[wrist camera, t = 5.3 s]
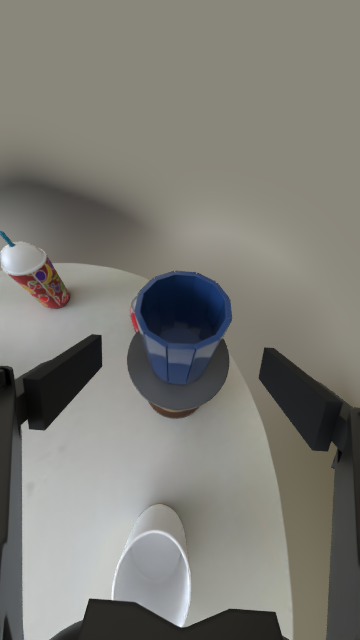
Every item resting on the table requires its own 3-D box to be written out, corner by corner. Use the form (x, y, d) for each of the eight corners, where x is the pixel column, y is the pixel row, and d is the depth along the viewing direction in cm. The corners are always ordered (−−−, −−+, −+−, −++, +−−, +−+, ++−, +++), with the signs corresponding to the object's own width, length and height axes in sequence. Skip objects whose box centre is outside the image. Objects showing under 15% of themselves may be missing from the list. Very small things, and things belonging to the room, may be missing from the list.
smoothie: (80, 300, 51) (35, 232, 34) (51, 318, 47) (-16, 253, 30) (64, 284, 54) (14, 213, 37) (35, 300, 50) (-35, 231, 33)
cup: (181, 498, 31) (185, 523, 22) (192, 621, 24) (204, 722, 16) (130, 507, 30) (114, 536, 21) (128, 636, 24) (104, 751, 15)
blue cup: (139, 341, 26) (122, 287, 16) (190, 320, 28) (201, 261, 18) (163, 396, 22) (158, 368, 13) (220, 367, 24) (251, 324, 15)
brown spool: (134, 370, 41) (114, 332, 26) (188, 346, 45) (197, 300, 30) (159, 434, 35) (150, 433, 20) (219, 400, 39) (250, 377, 24)
